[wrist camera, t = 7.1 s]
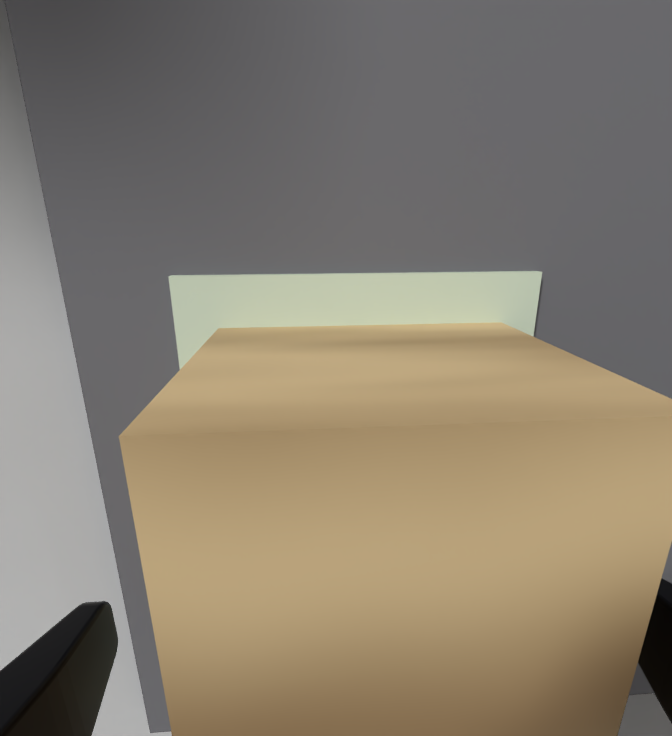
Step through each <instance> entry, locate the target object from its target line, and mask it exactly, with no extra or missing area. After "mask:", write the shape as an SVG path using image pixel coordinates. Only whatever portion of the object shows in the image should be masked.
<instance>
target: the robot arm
mask: <svg viewBox="0 0 672 736" xmlns="http://www.w3.org/2000/svg"><path fill="white" fill-rule="evenodd" d="M117 646H118V636H117V631H116V627H115V622H114V617H113V613H112V608H111V605H110V604H109V603H108V602H105V601H102V602H86V603H83V604H81V605H79V606H78V607H76V608H75V609H74V610H73V611H72V612H70V613H69V614H68V615H67V616H66V617H64V618H63V619H62V620H61V621H60V622H58V623H57V624H56V625H55V626H54V627H52V628H51V629H50V630H49V631H48V632H46V633H45V634H44V635H43V636H42V637H40V638H39V639H38V640H37V641H36V642H34V643H33V644H32V645H31V646H30V647H28V648H27V649H26V650H25V651H24V652H22V653H21V654H20V655H19V656H18V657H16V658H15V659H14V660H13V661H12V662H10V663H9V664H8V665H7V666H6V667H4V668H3V669H2V670H1V671H0V736H91V735H92V732H93V729H94V725H95V722H96V719H97V716H98V712H99V709H100V706H101V702H102V699H103V696H104V692H105V689H106V686H107V682H108V679H109V676H110V672H111V669H112V666H113V663H114V659H115V656H116V652H117ZM638 664H639V666H640V668H641V670H642V671H643V673H644V675H645V677H646V679H647V681H648V682H649V684H650V686H651V688H652V690H653V692H654V693H655V695H656V697H657V699H658V701H659V702H660V704H661V706H662V708H663V709H664V711H665V713H666V715H667V716H668V718H669V720H670V721H671V723H672V583H670V582H668V581H666V580H664V579H663V578H661V581H660V585H659V589H658V592H657V596H656V599H655V603H654V606H653V610H652V614H651V617H650V621H649V624H648V628H647V631H646V635H645V638H644V642H643V646H642V649H641V653H640V656H639V660H638Z"/></svg>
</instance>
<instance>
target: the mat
mask: <svg viewBox="0 0 672 736" xmlns="http://www.w3.org/2000/svg"><path fill="white" fill-rule="evenodd" d="M5 5H6V10H7V15H8V20H9V25H10V30H11V35H12V40H13V45H14V50H15V55H16V60H17V65H18V70H19V75H20V81H21V86H22V91H23V96H24V101H25V106H26V111H27V116H28V121H29V126H30V131H31V136H32V141H33V146H34V151H35V156H36V161H37V166H38V171H39V176H40V181H41V186H42V191H43V196H44V201H45V206H46V211H47V216H48V221H49V226H50V231H51V236H52V241H53V246H54V251H55V257H56V262H57V267H58V272H59V277H60V282H61V287H62V292H63V297H64V302H65V307H66V312H67V317H68V322H69V327H70V332H71V337H72V342H73V347H74V352H75V357H76V362H77V367H78V372H79V377H80V382H81V387H82V392H83V397H84V402H85V407H86V412H87V417H88V422H89V427H90V432H91V438H92V443H93V448H94V453H95V458H96V463H97V468H98V473H99V478H100V483H101V488H102V493H103V498H104V503H105V508H106V513H107V518H108V523H109V528H110V533H111V538H112V543H113V548H114V553H115V558H116V563H117V568H118V573H119V578H120V583H121V588H122V593H123V598H124V603H125V608H126V614H127V619H128V624H129V629H130V634H131V639H132V644H133V649H134V654H135V659H136V664H137V669H138V674H139V679H140V684H141V689H142V694H143V699H144V704H145V709H146V714H147V719H148V724H149V729H150V733H156V732H168V731H171V726H170V721H169V715H168V710H167V704H166V698H165V693H164V687H163V682H162V676H161V670H160V665H159V659H158V653H157V648H156V642H155V637H154V631H153V625H152V620H151V614H150V609H149V603H148V597H147V592H146V586H145V581H144V575H143V569H142V564H141V558H140V552H139V547H138V541H137V536H136V530H135V524H134V519H133V513H132V508H131V502H130V496H129V491H128V485H127V480H126V474H125V468H124V463H123V457H122V451H121V446H120V440H119V435H120V434H121V433H122V432H123V431H124V430H125V429H126V428H127V427H128V426H129V425H130V424H131V422H132V421H133V420H134V419H135V418H136V417H137V416H138V415H139V414H140V413H141V412H142V411H143V409H144V408H145V407H146V406H147V405H148V404H149V403H150V402H151V401H152V400H153V399H154V397H155V396H156V395H157V394H158V393H159V392H160V391H161V390H162V389H163V388H164V387H165V386H166V384H167V383H168V382H169V381H170V380H171V379H172V378H173V377H174V376H175V375H176V374H177V373H178V371H179V370H180V369H181V368H182V367H183V366H184V365H185V364H186V363H187V362H188V361H189V360H190V358H191V357H192V356H193V355H194V354H195V353H196V352H197V351H198V350H199V349H200V348H201V347H202V345H203V344H204V343H205V342H206V341H207V340H208V339H209V338H210V337H211V336H212V335H213V333H214V332H215V331H216V330H217V329H218V328H250V327H299V326H347V325H396V324H444V323H492V322H502V323H504V324H506V325H509V326H511V327H513V328H515V329H517V330H520V331H522V332H524V333H526V334H529V335H531V336H533V337H535V338H537V339H540V340H542V341H544V342H546V343H548V344H551V345H553V346H555V347H557V348H560V349H562V350H564V351H566V352H568V353H571V354H573V355H575V356H577V357H580V358H582V359H584V360H586V361H588V362H591V363H593V364H595V365H597V366H600V367H602V368H604V369H606V370H608V371H611V372H613V373H615V374H617V375H620V376H622V377H624V378H626V379H628V380H631V381H633V382H635V383H637V384H640V385H642V386H644V387H646V388H648V389H651V390H653V391H655V392H657V393H660V394H662V395H664V396H666V397H668V398H671V399H672V0H5ZM662 578H663V579H664V580H666V581H668V582H670V583H672V542H671V546H670V549H669V553H668V557H667V560H666V564H665V567H664V571H663V574H662ZM648 693H654V692H653V690H652V688H651V686H650V684H649V682H648V681H647V679H646V677H645V675H644V673H643V671H642V670H641V668H640V666H639V664H638V663H637V667H636V671H635V674H634V678H633V681H632V685H631V688H630V692H629V695H635V694H648Z"/></svg>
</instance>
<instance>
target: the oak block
mask: <svg viewBox="0 0 672 736" xmlns="http://www.w3.org/2000/svg"><path fill="white" fill-rule="evenodd" d="M119 440H120V446H121V451H122V457H123V463H124V468H125V474H126V480H127V485H128V491H129V496H130V502H131V508H132V513H133V519H134V524H135V530H136V536H137V541H138V547H139V552H140V558H141V564H142V569H143V575H144V581H145V586H146V592H147V597H148V603H149V609H150V614H151V620H152V625H153V631H154V637H155V642H156V648H157V653H158V659H159V665H160V670H161V676H162V682H163V687H164V693H165V698H166V704H167V710H168V715H169V721H170V726H171V732H172V736H617V735H618V731H619V728H620V724H621V720H622V717H623V713H624V710H625V706H626V703H627V699H628V695H629V692H630V688H631V685H632V681H633V678H634V674H635V671H636V667H637V663H638V660H639V656H640V653H641V649H642V646H643V642H644V638H645V635H646V631H647V628H648V624H649V621H650V617H651V614H652V610H653V606H654V603H655V599H656V596H657V592H658V589H659V585H660V581H661V578H662V574H663V571H664V567H665V564H666V560H667V557H668V553H669V549H670V546H671V542H672V399H671V398H668V397H666V396H664V395H662V394H660V393H657V392H655V391H653V390H651V389H648V388H646V387H644V386H642V385H640V384H637V383H635V382H633V381H631V380H628V379H626V378H624V377H622V376H620V375H617V374H615V373H613V372H611V371H608V370H606V369H604V368H602V367H600V366H597V365H595V364H593V363H591V362H588V361H586V360H584V359H582V358H580V357H577V356H575V355H573V354H571V353H568V352H566V351H564V350H562V349H560V348H557V347H555V346H553V345H551V344H548V343H546V342H544V341H542V340H540V339H537V338H535V337H533V336H531V335H529V334H526V333H524V332H522V331H520V330H517V329H515V328H513V327H511V326H509V325H506V324H504V323H502V322H492V323H444V324H396V325H347V326H299V327H250V328H218V329H217V330H216V331H215V332H214V333H213V335H212V336H211V337H210V338H209V339H208V340H207V341H206V342H205V343H204V344H203V345H202V347H201V348H200V349H199V350H198V351H197V352H196V353H195V354H194V355H193V356H192V357H191V358H190V360H189V361H188V362H187V363H186V364H185V365H184V366H183V367H182V368H181V369H180V370H179V371H178V373H177V374H176V375H175V376H174V377H173V378H172V379H171V380H170V381H169V382H168V383H167V384H166V386H165V387H164V388H163V389H162V390H161V391H160V392H159V393H158V394H157V395H156V396H155V397H154V399H153V400H152V401H151V402H150V403H149V404H148V405H147V406H146V407H145V408H144V409H143V411H142V412H141V413H140V414H139V415H138V416H137V417H136V418H135V419H134V420H133V421H132V422H131V424H130V425H129V426H128V427H127V428H126V429H125V430H124V431H123V432H122V433H121V434H120V435H119Z"/></svg>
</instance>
